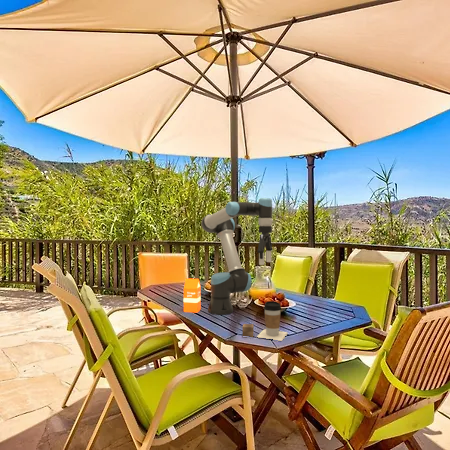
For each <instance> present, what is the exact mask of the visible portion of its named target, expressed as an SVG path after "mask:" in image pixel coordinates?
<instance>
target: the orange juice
mask: <svg viewBox="0 0 450 450" xmlns="http://www.w3.org/2000/svg"><path fill="white" fill-rule="evenodd" d="M201 289H202V288H201V282H200V278H190V277H189V278H188V277H187V278H185V280H184V287H183V312H184V313H195V314H196V313H197V314H198V313H199V312H200V311H201V309H202V306H201V305H202V304H201V303H202V302H201V298H202V295H201V293H202V292H201Z"/></svg>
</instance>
